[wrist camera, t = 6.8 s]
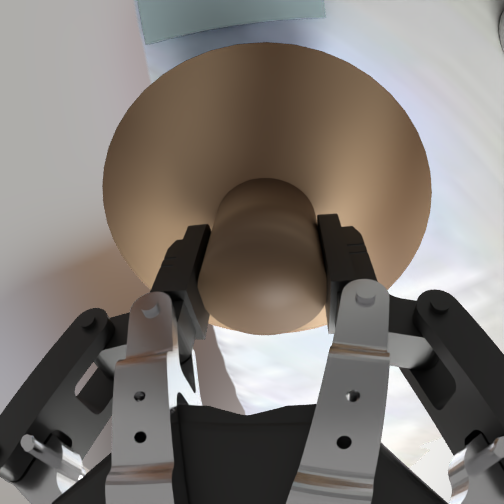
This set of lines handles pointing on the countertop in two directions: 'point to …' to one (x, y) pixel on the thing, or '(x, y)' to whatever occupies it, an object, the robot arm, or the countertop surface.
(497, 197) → the countertop surface
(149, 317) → the robot arm
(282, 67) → the lid
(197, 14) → the mat
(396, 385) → the countertop surface
